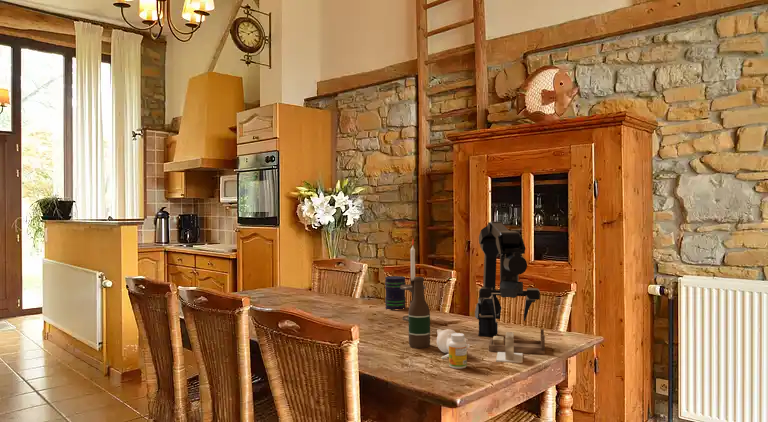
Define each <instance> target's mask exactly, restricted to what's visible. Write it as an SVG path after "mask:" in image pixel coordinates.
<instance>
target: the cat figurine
mask: <svg viewBox="0 0 768 422" xmlns="http://www.w3.org/2000/svg"><path fill="white" fill-rule="evenodd" d="M436 333H437V334H436V335H437V337H436V346H437V348H438V349H439V351H441V352H442V353H444V354H445V355H442V356H441V359H442V360H444V359H447V358H449V342H450V341H452V339H451V334H453V333H457V332H456V331H455V330H454V329H450V328H447V329H446V328H445V329H440V328H439V329H438V328H437V330H436ZM464 341H465V342H466V344H467V337H464ZM470 346H471V344H470V343H468V344H467V349H468V348H470Z"/></svg>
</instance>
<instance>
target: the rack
mask: <svg viewBox="0 0 768 422" xmlns="http://www.w3.org/2000/svg"><path fill="white" fill-rule="evenodd" d="M544 331H545V330H544V328H542V329H541V328H540V340H536V339H535V340H533V339H532V340H531V339H518V338H517V339H514V353H523V354H534V355H545V354H546V353H545V352H546V347H545V346H546V345H545V343H546V342H545V341H546V340H545V339H546V336H545V334H544V333H545V332H544ZM489 339H490V340H489V342H488V352H497V353H498V352H505V338H504V345H493V337H490V338H489Z"/></svg>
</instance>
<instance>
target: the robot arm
mask: <svg viewBox="0 0 768 422" xmlns="http://www.w3.org/2000/svg"><path fill="white" fill-rule="evenodd" d="M522 237H523V236H522V235H521V234H520V232H519V231H516V230H509V229H508V228H507V227H506V226H505V225H504V222H503V221H490V222H488V223H487V225H486V226H484V227H483V228H482V229H481V230H480V232H479V235H478V244H479V246H480V249H481V251H482V252H483V255H484V257H483V278H482V279H483V281H482V282H483V285H482V286H481V287H480V288H479V289H478V298H477V299H478V300H477V301H478V302H477V303H476V304H475V305H476V306H475V310H474V317H475V319H477V320H478V334H477V335H478V336H481V337H494V336H497V334H498V331H499V329H498V328H499V327H498V326H499V325H498V324H499V323H498V321H497V320H501V313H502V306H501V303H500V300H499V298H498V297H499V296H500V297H501V298H503V299H504V298H512V299H514V298H517V297H525V302H524V310H523V311H524V312H523V321H524V322H526V319H527V316H528V313H529V309H530V307H531V306H532V304H533V303H536V301H537V300H541V291H540V289H539V288H537V287H536V288H535V287H526V290H525V289H524V282H523V281H519V275H520V276H521V275H523V274H524V273H525V272H526V270H527V269H528V263H527V260H526V258H525V257H523V256H522V255H521V254H523V255H525V254H526V245H525V243H524V238H522ZM499 254H500V256H499V289H496V284H497V281H496V280H497V257H498V255H499ZM497 296H498V297H497Z"/></svg>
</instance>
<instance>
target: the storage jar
mask: <svg viewBox="0 0 768 422" xmlns="http://www.w3.org/2000/svg"><path fill="white" fill-rule="evenodd" d="M384 279H385V281H384V289H385V298H384V303H385V308H386V309H385V310H387V309H403V308H406V305H407V304H406V302H407V301H406V300H407V298H406V290H403V289H401V288H400V286H401V285H407V283H406V276H402V275H401V276H400V275H398V276H397V275H391V276H390V275H389V276H385V278H384Z"/></svg>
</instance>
